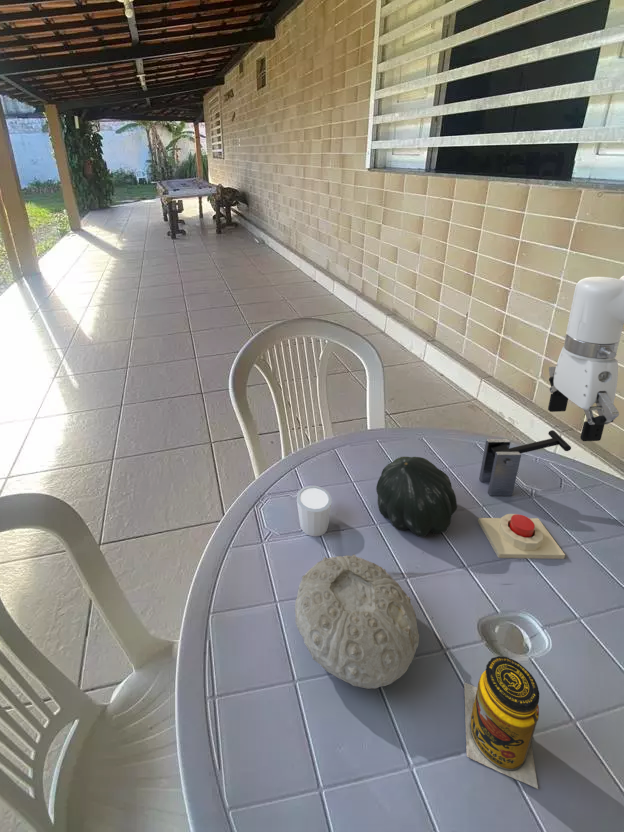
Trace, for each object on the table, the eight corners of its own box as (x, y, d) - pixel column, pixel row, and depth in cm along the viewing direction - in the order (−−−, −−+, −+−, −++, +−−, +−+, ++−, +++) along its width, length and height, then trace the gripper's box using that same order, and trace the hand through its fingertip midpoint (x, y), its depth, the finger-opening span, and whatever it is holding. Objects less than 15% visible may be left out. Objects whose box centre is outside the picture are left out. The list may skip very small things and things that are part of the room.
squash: (467, 481, 86) (419, 428, 85) (476, 542, 73) (419, 481, 73) (408, 503, 94) (363, 454, 93) (406, 562, 81) (354, 507, 80)
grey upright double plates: (512, 477, 94) (521, 432, 89) (536, 508, 85) (547, 461, 81) (456, 477, 95) (463, 433, 90) (474, 508, 86) (482, 461, 82)
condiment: (466, 757, 51) (480, 697, 47) (463, 683, 59) (476, 625, 54) (537, 790, 48) (559, 729, 44) (526, 707, 56) (544, 648, 51)
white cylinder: (332, 540, 81) (332, 513, 79) (296, 537, 82) (295, 510, 80) (330, 512, 87) (331, 486, 85) (297, 510, 89) (296, 483, 86)
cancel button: (525, 521, 78) (527, 514, 78) (537, 537, 75) (539, 530, 74) (505, 521, 79) (507, 514, 78) (516, 537, 75) (517, 530, 75)
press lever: (555, 436, 87) (554, 427, 86) (571, 452, 82) (570, 442, 82) (489, 452, 89) (487, 443, 89) (501, 468, 85) (499, 459, 84)
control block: (536, 526, 81) (540, 510, 80) (562, 564, 74) (567, 547, 72) (476, 526, 82) (479, 510, 81) (497, 563, 75) (501, 546, 73)
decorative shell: (404, 588, 71) (409, 545, 68) (427, 717, 55) (436, 669, 52) (298, 575, 75) (297, 533, 71) (291, 693, 59) (289, 646, 55)
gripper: (652, 366, 68) (628, 452, 74) (579, 326, 84) (564, 400, 90) (603, 368, 69) (582, 454, 75) (539, 328, 85) (527, 401, 91)
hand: (572, 424), depth 83 cm, fingers open, 9 cm apart
